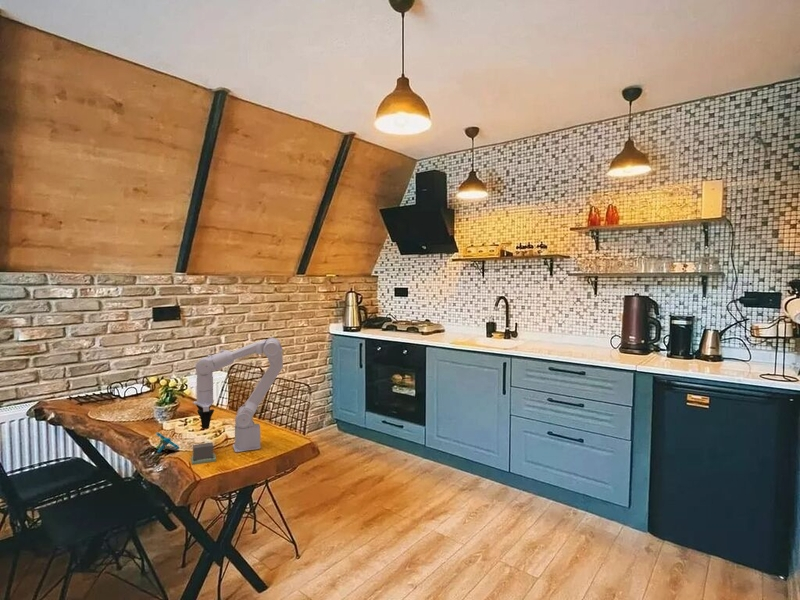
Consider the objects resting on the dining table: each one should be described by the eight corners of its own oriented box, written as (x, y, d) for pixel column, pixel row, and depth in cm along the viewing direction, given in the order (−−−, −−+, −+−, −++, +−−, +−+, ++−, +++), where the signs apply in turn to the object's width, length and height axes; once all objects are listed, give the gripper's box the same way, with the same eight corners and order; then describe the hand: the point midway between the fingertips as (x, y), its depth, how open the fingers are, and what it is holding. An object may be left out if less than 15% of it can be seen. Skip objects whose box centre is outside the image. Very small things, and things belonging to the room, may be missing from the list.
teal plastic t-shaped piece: (184, 447, 173) (162, 432, 169) (172, 461, 170) (150, 447, 166) (175, 442, 181) (155, 428, 177) (164, 456, 179) (143, 442, 174)
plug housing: (212, 454, 170) (212, 442, 170) (213, 457, 166) (213, 445, 166) (192, 457, 167) (192, 445, 167) (193, 460, 164) (193, 448, 163)
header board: (214, 454, 171) (214, 447, 171) (216, 461, 166) (216, 453, 166) (191, 458, 168) (191, 450, 167) (191, 464, 162) (191, 456, 162)
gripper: (192, 385, 178) (192, 420, 179) (194, 395, 165) (194, 432, 166) (212, 384, 181) (212, 418, 182) (215, 393, 169) (215, 429, 169)
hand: (205, 424), depth 175 cm, fingers open, 7 cm apart
